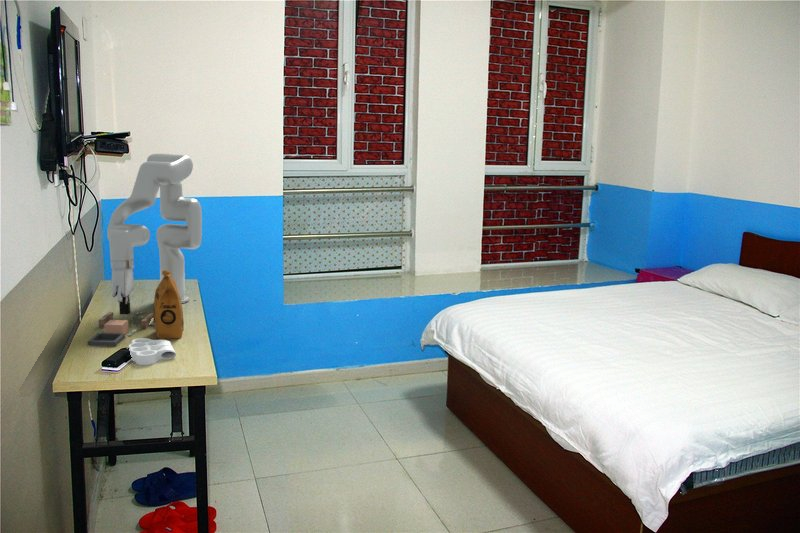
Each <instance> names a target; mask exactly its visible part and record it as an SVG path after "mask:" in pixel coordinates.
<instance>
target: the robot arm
mask: <svg viewBox="0 0 800 533" xmlns="http://www.w3.org/2000/svg"><path fill="white" fill-rule="evenodd" d="M193 167H194V164H193V160H192V159H191V157H190V156H188V155H187V154H184V155H183V154H173V153H171V154H170V153H152V154H150V155H149V156H148V157H147V160H146V161H145V162H142V164H141V165H140V167H139V169H138V171H137V174H136V178H135V182H134V185H133V187H132V190H131V195H130V196H129V197H128V198H127V199H125V200H124V201H122V202H121V203H120V204H118V205H117V207H116V208H115V210H114V211H113V212H112V214H111V216H110V220H109V222H108V227H107V233H106V235H107V236H106V237H107V239H108V241H109V243H108V244H109V254H110V255H109V257H110V269H111V297H112V298H115V297H116V296H117V298H116V300H117V302H118V305H119V306H118V307H119V315H126V316H127V315H130V314H131V294H132V293H133V292H134V288H135V284H134V282H135V280H134V271H133V270H134V268H135V260H134V259H135V258H134V247H141V246H144V245H146V244H147V243H148V242H149V241H150V237H151V232H150V230H149V228H148V227H147V226H145V225H142V224H133V223H125V221H126V220H127V219H128V218H129V217H130V216H132V215H134V214H135V213H137V212H140V211H144V210H146V209H149V208H151V207H152V206H154V205H155V203H156V200H157V196H158V192H159V208H160V209H159V212H160V216H161V218H162V219H163V220H165V221H169V222H171V221H172V222H184V223H186V224H179V223H177V224H176V223H175V224H174V223H164V224H161V225H160V226H159V227H158V228H157V230H156V241H157V245H158V251H159V278H160V279H159V280H160V281H159V283H160V282H161V281H162V279H163V278H164V275H163V274H162V272H163V271H164V270H165V269H166V270H168V271H169V272H170V273H171V277H172V278H173V280H174V281H175V283H176V285H177V289H178V292H179V296H180V299H181V304H184V303H187V302H189V300H190V296H188V295H186V282H185V281H186V280H185V278H186V277H185V276H186V271H185V264H186V262H185V256H184V254H183V252H182V251H181V249H183V250H184V249H185V250H196V249H198V248H200V246H201V244H202V238H203V212H202V211H203V210H202V205H201V203H200V202H199V200H197V199H195V198H191V197H184V196H183V183H182V182H183V181H184V180H186V179H187V178H188V177H190V176H191V173H192V172H193V169H194V168H193Z"/></svg>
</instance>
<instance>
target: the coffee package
mask: <svg viewBox="0 0 800 533" xmlns="http://www.w3.org/2000/svg"><path fill="white" fill-rule="evenodd" d="M162 274H163V275H164V278H163V279H162V281H161V282H160V281H159V284H158V285H157V287H156V289H155V292H154V293H155V294H154V300H153V308H152V311H153V313H152V314H153V316H154V322H153V324H154V329H155V333H156V336H157V338H158V340H171V339H181V338H182V335H183V332H184V331H185V330H184V329H185V328H184V324H185V323H184V310H183V303H181V299H180V296H179V292H178V289H177V285H176V283H175V281H174V280H173V278H172V277H171V273H170V272H169V271H168V270H166V269H165V270H164V271H163V272H162Z"/></svg>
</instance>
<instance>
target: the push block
mask: <svg viewBox="0 0 800 533" xmlns="http://www.w3.org/2000/svg"><path fill="white" fill-rule="evenodd" d="M103 329H104V333H114V334H125V336H126V335H128V334H129V333H130V332H129V320H128V319H113V320H109V321H108V322H107V323H106V324H104V328H103Z"/></svg>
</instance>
